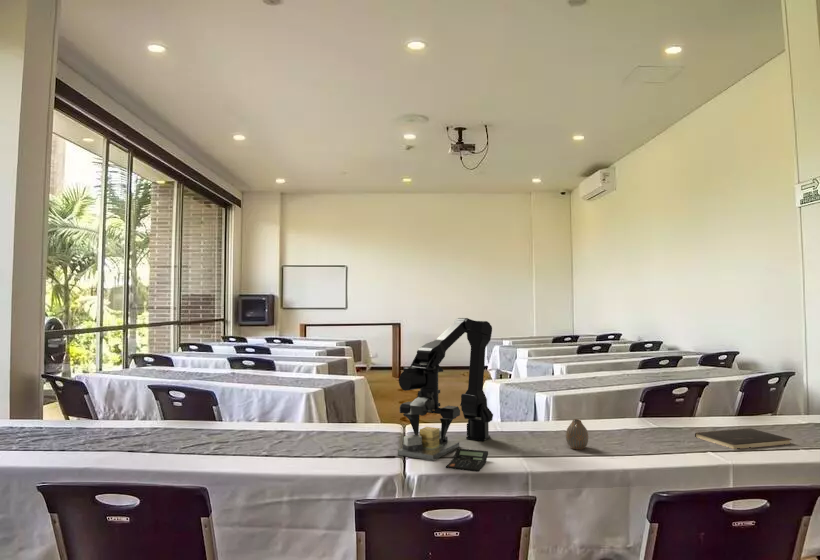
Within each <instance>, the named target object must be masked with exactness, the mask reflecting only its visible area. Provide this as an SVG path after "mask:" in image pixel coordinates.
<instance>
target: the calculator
mask: <svg viewBox="0 0 820 560" xmlns="http://www.w3.org/2000/svg"><path fill="white" fill-rule="evenodd" d="M488 455H489V451H487V450H478V449H467V448H459V447H458V448H456V449H455V452H454V456H453V459H452V460H450V461H449V463H447V464H446V465H445V469H450V470H459V471H460V470H461V471H468V472H480V471H481V470H482V469H483V467H485V465H486V464H487V463H486V462H487V459H488ZM480 469H481V470H480Z"/></svg>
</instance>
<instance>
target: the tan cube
mask: <svg viewBox="0 0 820 560" xmlns="http://www.w3.org/2000/svg"><path fill="white" fill-rule="evenodd" d="M439 428H440V427H431V426H425V427H423V428H419V435H420V436H422V444H423V446H424V447H430V448H433V447H435V446H437V445H439V438H440V435H439Z"/></svg>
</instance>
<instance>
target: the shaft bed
mask: <svg viewBox="0 0 820 560" xmlns="http://www.w3.org/2000/svg"><path fill="white" fill-rule="evenodd" d="M438 428H439V435H440V438H439V445H437V446H435V447H433V448H430V447H424V446H423V444H422V436H420V434H418V435H415V434H412V435H405V436H403V443H402V444H401V445H402V448H399V449H398V450H397V456H401V457H405V458H406V457H407V458H413V459H420V460H426V461H432V462H434V461H435V460H437V459H439V458H441V457H443V456H445V455H447V454H448V453H451V452H452V451H454V450H456V449H457V448H458V449H459V447H460V441H455V440H450V439H448V436H446V435H445V438H444V440H442V439H441V427H438Z"/></svg>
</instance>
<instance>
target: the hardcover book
mask: <svg viewBox="0 0 820 560" xmlns="http://www.w3.org/2000/svg"><path fill="white" fill-rule="evenodd" d="M695 437H696V438H697V439H699V438H700V440H703V441H706V442H709V443H712V444H713V443H714V444H715V443H716V444H715V445H719V446H723V447H725V446H726V447H725V448H728V447H729V448H728V449H733V450H737V448H740V449H749V447H751V448H758V447H759V448H760V447H771V446H781V445H782V446H783V445H784V444H785V445H790V443H791V441H792V440H793V439H792V438H790V437H785V436H782V435H777V434H774V433H770V432H766V431H762V430H759V429H754V428H752V427H751V428H740V429H739V428H736V429H735V428H734V429H727V430H726V429H723V430H714V431H712V430H711V431H700V432H699V431H698V432H695V433H694V438H695ZM785 445H784V446H785Z"/></svg>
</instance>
